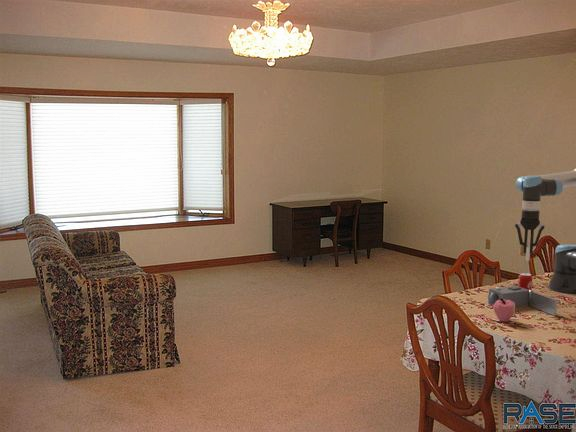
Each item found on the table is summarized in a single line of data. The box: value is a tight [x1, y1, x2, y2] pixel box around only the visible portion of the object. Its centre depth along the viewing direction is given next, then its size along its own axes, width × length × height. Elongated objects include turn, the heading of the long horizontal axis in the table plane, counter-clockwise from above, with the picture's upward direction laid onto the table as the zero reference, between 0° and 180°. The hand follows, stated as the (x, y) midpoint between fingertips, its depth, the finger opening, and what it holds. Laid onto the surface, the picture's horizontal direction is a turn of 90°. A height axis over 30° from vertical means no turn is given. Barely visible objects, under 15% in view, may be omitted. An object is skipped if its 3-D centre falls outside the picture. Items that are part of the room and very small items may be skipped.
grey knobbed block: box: [487, 285, 529, 308], centre depth 285 cm, size 18×9×8 cm, turn 113°
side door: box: [527, 289, 558, 317], centre depth 277 cm, size 16×2×7 cm, turn 20°
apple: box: [493, 298, 516, 323], centre depth 261 cm, size 10×9×10 cm
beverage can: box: [517, 272, 533, 290], centre depth 296 cm, size 6×6×12 cm
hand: (527, 260), depth 285 cm, fingers closed
